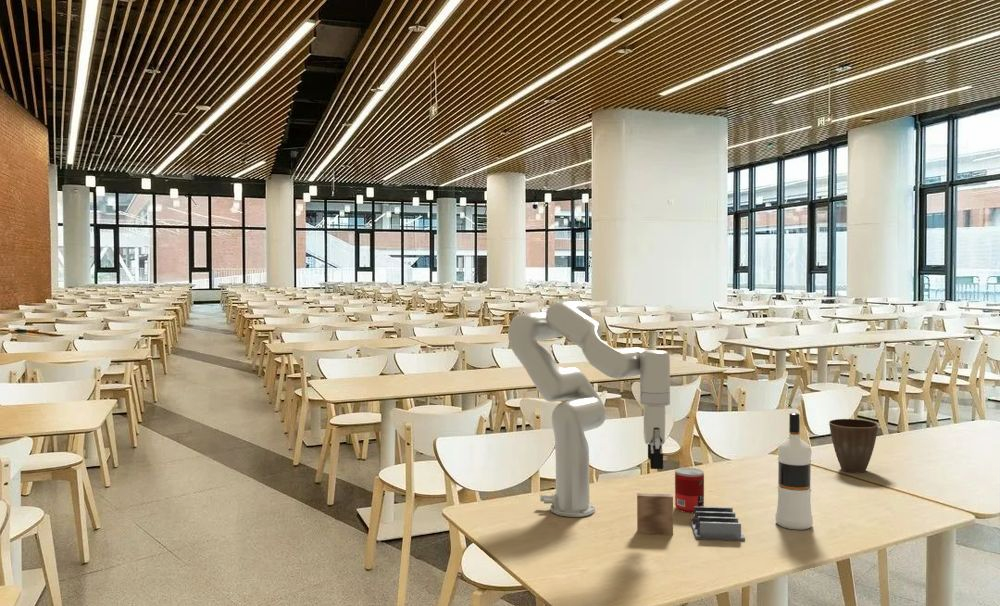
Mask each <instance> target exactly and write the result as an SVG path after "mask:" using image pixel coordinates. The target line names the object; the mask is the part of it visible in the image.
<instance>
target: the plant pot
mask: <svg viewBox="0 0 1000 606" xmlns="http://www.w3.org/2000/svg"><path fill="white" fill-rule="evenodd" d="M828 425H829V430H830V436H831V441H832V443H833V445H832V446H833V448H834V452H835V456H836V458H837V461H838V463H839V466H840V469H841V470H842V471H844V470H845V471H844V472H847V471H849V472H848V473H853V472H861V473H865V472H866V470H867V469H868V466H869V463H870V461H871V458H872V456H873V452H874V448H875V444H876V439H877V435H878V430H879V429H878V428H879V424H878V423H877V422H874V421H870V420H864V419H858V418H857V419H856V418H836V419H832V420H829V422H828Z"/></svg>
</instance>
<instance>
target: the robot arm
mask: <svg viewBox="0 0 1000 606" xmlns="http://www.w3.org/2000/svg"><path fill="white" fill-rule="evenodd" d="M602 335H603V328H602V325H601V323H600V322H598V321H596V320H594V318H592V312H591V309H590V307H589V306H588V305H587V304H586V303H584V302H583V301H581V300H567V301H558V302H554V303H553V304H551V305H550V306H549V307H548V308H547V310H546V311H533V312H531V311H530V312H525V313H521V314H518V315H516V316H515V317H514V318H513V319H512V320H511V321H510V323H509V326H508V329H507V337H508V338H507V339H508V343H509V346H510V348H511V351H512V353H513V354H514V355H515V357H516V359H518V360H519V362H520V364H521V365H522V366H523V368H524V369H525V371H526V372H527V374H528V376H529V378H530V379H531V381H532V383H533V384H534V386H535V387H536V389H537V391H538V393H539V394H540V395H541V397H542V398H543V399H544V400H545V401H546V402H548V403H549V402H550V403H554V402H555V403H556V402H560V403H559V404H557V405H556V406H555V407H554V409H553V411H552V413H551V425H552V429H553V434H554V444H555V446H554V447H555V492H554V493H552V494H551V495H550V494H548V495H547V494H540V499H539V500H540V502H541V503H542V502H543V504H548V505H549V504H551V505H550V511H551V513H553V514H554V513H555V515H557V516H561V517H568V518H581V517H587V516H590V515H592V514H594V512H596V506H595V505H594V504H593V503H591V502H590V447H589V443H588V440H587V438H586V436H585V432H587V431H591V430H595V429H598V428H599V427H601V426H602V425H603V424H604V423H605V421H606V418H607V412H606V407H605V404H604V402H603V401H602V398H601V397H600V395H599V394H598V392H597V391H596V390H595V388H594V386H593V385H592V384H591V382H590V381H589V379H588V377H587V376H586V374H585V373H584V372H583V371H581V370H580V369H579V368H577V367H574V366H564V367H561V366H559V365H558V364H557V363H556V361H555V360H554V358H553V357H552V355H551V354H550V353H549V351H548V350H547V349H546V348H544V346H542V345H541V344H539V342H538V341H546V340H554V339H556V338H562V337H564V338H566V339H567V340H568V341H570V342H571V343H573V344H574V345H576V346H578V347H579V348H580V349H581V351H582V355H583V356H584V357H585V359H586V361H587V362H588V363H589V365H591V366H592V367H594V368H595V369H596V370H597V371H599V372H600V373H602V374H603V375H606V376H607V377H610V378H613V379H625V378H629V377H636V376H639V377H640V378H639V384H640V385H639V390H640V391H639V393H640V394H639V398H640V401H639V402H640V403H639V404H640V405H642V406H643V439H644V440H643V441H644V443H645V444H646V445H647V459H648V460H649V462H650V463H649V467H650V469H651V470H663V469H664V452H663V444H665V439H666V437H665V436H666V406H669V405H671V380H670V379H671V366H670V365H671V362H670V361H671V359H670V354H669V352H668V351H666V350H663V349H662V350H660V349H645V348H642V347H625V348H619V349H616V348H614V347H612V346H610V345H609V344H608V343H606V342H605V341H603V340H602V339H601V337H602Z"/></svg>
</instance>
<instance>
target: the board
mask: <svg viewBox="0 0 1000 606" xmlns="http://www.w3.org/2000/svg"><path fill="white" fill-rule="evenodd" d="M636 503H637V504H636V511H637V512H636V513H637V514H636V520H637V522H636V525H637V526H636V527H637V528H636V531H637V532H638V533H637V534H638V535H657V534H660V535H659V536H661V535H662V536H663V535H664V536H674V495H673V494H672V493H671V494H669V493H645V492H644V493H641V492H640V493H639V492H638V493H637V494H636Z"/></svg>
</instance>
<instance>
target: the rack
mask: <svg viewBox="0 0 1000 606" xmlns="http://www.w3.org/2000/svg"><path fill="white" fill-rule="evenodd" d="M689 520H690V521H689V523H690V525H691V529H692V531H693V534H694V538H695V539H696V540H703V539H711V541H730V540H731V542H732V541H733V542H734V541H735V542H737V541H738V542H746V537H745V535H744V533H743V531H742V523H741V522H739V517H736V512H734V511H733V506H732V507H727V506H704V507H702V506H694V513H693V518H690V519H689Z"/></svg>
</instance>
